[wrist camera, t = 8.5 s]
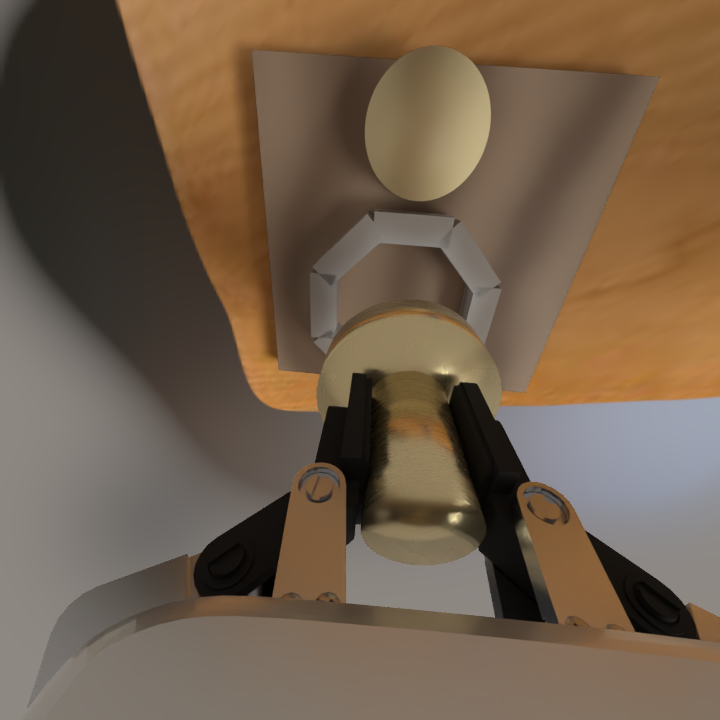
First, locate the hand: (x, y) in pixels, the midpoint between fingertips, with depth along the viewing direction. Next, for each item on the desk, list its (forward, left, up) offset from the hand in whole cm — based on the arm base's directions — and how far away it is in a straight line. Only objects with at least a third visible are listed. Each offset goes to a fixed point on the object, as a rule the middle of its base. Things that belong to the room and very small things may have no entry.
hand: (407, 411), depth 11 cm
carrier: (-1, -3, -13) cm, 14 cm away
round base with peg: (0, 0, -3) cm, 2 cm away
